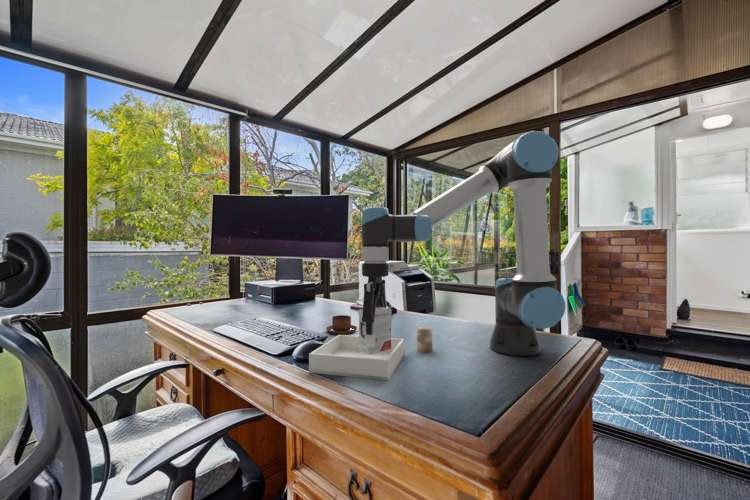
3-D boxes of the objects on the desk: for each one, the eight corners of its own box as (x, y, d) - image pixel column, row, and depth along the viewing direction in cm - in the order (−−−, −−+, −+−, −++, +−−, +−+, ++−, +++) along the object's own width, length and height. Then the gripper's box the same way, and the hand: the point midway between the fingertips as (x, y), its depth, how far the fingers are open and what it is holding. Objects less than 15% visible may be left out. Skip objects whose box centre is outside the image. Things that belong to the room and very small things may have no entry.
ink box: (381, 346, 105) (381, 306, 105) (392, 349, 101) (392, 308, 101) (357, 351, 99) (357, 309, 99) (368, 355, 96) (368, 311, 96)
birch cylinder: (433, 348, 116) (433, 327, 116) (431, 353, 111) (431, 330, 111) (418, 347, 118) (418, 326, 118) (415, 351, 113) (415, 329, 113)
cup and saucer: (363, 332, 139) (363, 317, 139) (338, 338, 131) (338, 321, 131) (344, 327, 148) (344, 313, 148) (320, 332, 140) (320, 316, 140)
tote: (404, 355, 109) (404, 339, 109) (388, 380, 88) (388, 360, 88) (339, 350, 115) (338, 334, 115) (309, 372, 94) (308, 353, 94)
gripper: (373, 260, 112) (373, 331, 112) (349, 263, 90) (349, 351, 91) (396, 261, 110) (396, 333, 110) (377, 264, 88) (377, 353, 89)
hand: (375, 341), depth 100 cm, fingers closed on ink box, 9 cm apart
